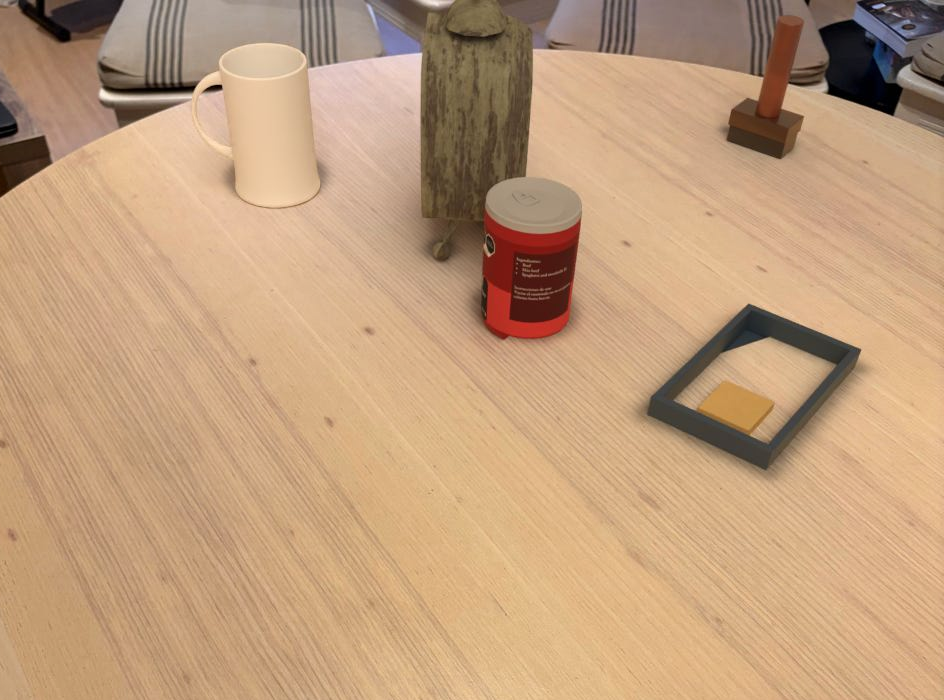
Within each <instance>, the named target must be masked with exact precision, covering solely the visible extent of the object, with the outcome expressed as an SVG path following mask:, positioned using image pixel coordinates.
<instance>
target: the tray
mask: <svg viewBox="0 0 944 700" xmlns="http://www.w3.org/2000/svg"><path fill="white" fill-rule="evenodd" d="M767 338H772V339H774V340H776V341H779V342H781V343H783V344H786V345H788V346H791V347H793V348H796V349H798V350H800V351H803V352H805V353H808V354H809V355H812V356H814V357H817V358H820V359H822V360H824V361H827V362H829V363H831V364H834V365H836V366H835V367H834V369H833V370H832V371H830V373H828V375H827V376H826V377H825V379H823V381H822V382H821V383H820V384H819V386H818V387H817V388H816V389H815V390H814V391H813V392H812V393H811V394H810V396H809V397H808V398H807V399H806V400H805V401H804V402H803V403H802V405H801V406H800V407H799V408H798V409H797V410H796V411H795V412H794V414H793V415H792V416H791V417H790V418H789V419H788V420H787V422H786V423H785V424H784V425H783V426H782V427H781V429H779V431H777V433H775V435H774V436H773V438H772V439H771V440H770V441H769V442H768V443H766V442H764V441H762V440H760V439H758V438H756V437H753V436H751V435H747V434H745V433H743V432H740V431H738V430H736V429H734V428H732V427H730V426H727V425H725V424H723V423H721V422H719V421H717V420H714V419H712V418H710V417H708V416H706V415H703V414H701V413H699V412H697V410H695V409H693V408H690V407H688V406H686V405H684V404H682V403H679V402H677V401H675V399H676V398H677V397H678V396H679V395H680V394H681V393H682V392H683V391H684V390H685V389H686V388H687V387H688V386H689V385H690V384H691V383H692V382H693V381H695V380H696V378H697V377H698V376H699V375H700V374H702V373H703V372H704V370H705V369H706V368H707V367H709V366H710V364H711V363H713V362H714V361H715V360H716V359H717V358H718V357H719V356H720V355H721V354H724V353H726V352H730V351H732V350H736V349H738V348H741V347H744V346H747V345H750V344H753V343H755V342H759V341H763V340H764V339H767ZM861 352H862V349H861V348H859V347H858V346H855V345H852V344H850V343H847V342H845V341H842V340H841V339H840V340H839V339H837V338H835V337H832V336H830V335H828V334H825V333H822V332H821V331H818V330H816V329H812V328H810V327H808V326H806V325H803V324H800V323H798V322H795V321H793V320H790V319H788V318H786V317H784V316H780V315H778V314H776V313H773V312H771V311H768V310H766V309H764V308H761V307H759V306H756V305H754V304H752V303H747V304H746V305H745V306H744V307H743V308H741V310H740V311H739V312H738V313H737V314H735V316H734V317H733V318H732V319H731V320H729V321H728V322H727V323H726V324H725V325H724V326H723V327H722V328H721V329H720V330H719V331H718V332H717V333H716V334H715V335H714V336H713V337H712V338H711V339H710V340H709V341H707V342H706V344H704V345H703V346H702V347H701V348H700V349H699V350H698V351H697V352H696V353H695V354H694V355H693V356H692V357H691V358H689V360H688V361H687V362H686V363H685V364H684V365H683V366H681V368H680V369H678V370H677V372H675V373H674V374H673V375H672V376H671V377H670V378H669V379H668V380H667V381H666V382H665V383H664V384H663V385H662V386H661V387H659V389H657V391H655V392H654V393H653V394H652V395H651V397H650V400H649V405H648V410H647V414H646V415H647V416H649V417H651V418H653V419H655V420H658V421H660V422H662V423H664V424H666V425H668V426H671V427H673V428H674V429H676V430H679V431H681V432H683V433H685V434H687V435H690V436H692V437H694V438H696V439H698V440H700V441H703V442H704V443H707V444H708V445H711V446H713V447H715V448H717V449H719V450H721V451H723V452H726V453H728V454H730V455H732V456H734V457H736V458H739V459H741V460H742V461H744V462H746V463H749V464H751V465H753V466H755V467H758V468H760V469H762V470H764V471H767V470H768V469H769V468H770V466H771V465H772V464H773V463H774V462H775V461H776V460H777V459H778V457H779V456H780V455H781V454H782V453H783V452H784V450H785V449H786V448H787V447H788V446H789V445H790V443H791V442H793V440H794V439H795V438H796V436H797V435H798V434H799V433H800V432H801V430H803V428H804V427H805V426H806V425H807V423H808V422H809V421H810V420H811V419H812V418H813V417H814V416H815V414H816V413H817V412H818V411H819V410H820V409H821V408H822V407H823V405H824V404H825V403H826V402H827V400H828V399H829V398H830V397H831V396H832V395H833V393H834V392H835V391H836V390H837V389H838V387H840V385H841V384H842V383H843V381H844V380H845V379H847V377H848V376H849V375H850V374H851V372H852V371H853V370H854V369H855V368H856V365H857V362H858V360H859V357H860V355H861Z"/></svg>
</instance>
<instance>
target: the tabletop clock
mask: <svg viewBox="0 0 944 700" xmlns="http://www.w3.org/2000/svg"><path fill="white" fill-rule="evenodd" d="M533 35H534V34H533V28H531V27H530V26H528V25H527V24H525V22H522V21H520V20H519V19H518V18H516V17H515V16H513V15H507V14H505V12H504V10H503V8H502V6H501V5H500V3H499V2H498V1H497V0H454V1H453V2H451V4H450V6H449V7H448V9H447V11H446V12H440V11H439V12H438V11H436V12H435V11H428V12H427V17H426V23H425V28H424V37H423V44H422V53H421V65H420V119H419V120H420V121H419V122H420V205H421V206H420V210H421V219H435V220H436V219H437V220H448V222H447V226H446V228H445V232H444V235H443V238H442V241H438V242H436V243H435V245H434V246H433V248H432V253H433V255H434V256H433V257H434V258H436V260H439V261H444V260H446V259H448V258H449V256H450V255H451V248H450V245H449V242H450V240H451V238H452V236H453V234H454V232H455V230H456V228H457V227H458V226H459V224H460V223H461V222H462V221H480V222H484V215H485V203H486V196H487V193H488V191H489V190H490V189H491V188H492V187H493V186H494V185H496V184H498V183H500V182H502V181H505V180H508V179H513V178H519V177H527V166H528V152H529V138H530V128H531V127H530V126H531V115H532V113H531V112H532V98H533V97H532V96H533V83H534V82H533V80H534V79H533V77H534V46H533V45H534V42H533V41H534V38H533Z"/></svg>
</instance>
